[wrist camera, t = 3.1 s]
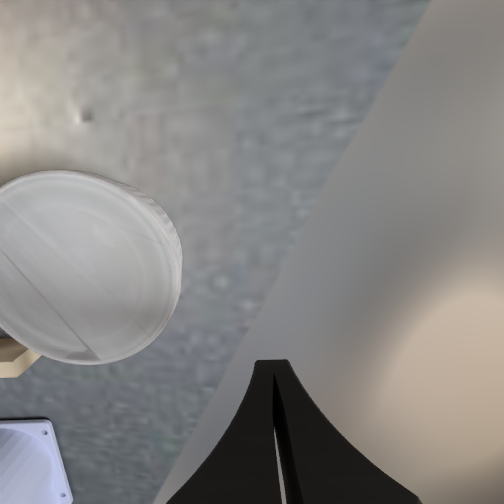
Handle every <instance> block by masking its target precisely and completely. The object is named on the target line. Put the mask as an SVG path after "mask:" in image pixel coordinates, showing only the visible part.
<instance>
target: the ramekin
mask: <svg viewBox="0 0 504 504" xmlns="http://www.w3.org/2000/svg"><path fill="white" fill-rule="evenodd" d="M182 258H183V257H182V248H181V245H180V240H179V237H178V235H177V232H176V229H175V228H174V226H173V224H172V222H171V220H170V219H169V218H168V216H167V214H166V213H165V212H164V211H163V210H162V209H161V207H160V206H159V205H157V204H156V203H155V202H154V201H153V200H152V199H151V198H149V197H147V196H146V195H145V194H144V193H142V192H139V191H138V190H136V189H135V188H132V187H129V186H127V185H125V184H121V183H117V182H114V181H112V180H110V179H107V178H105V177H102V176H99V175H96V174H92V173H88V172H83V171H76V170H46V171H39V172H33V173H29V174H26V175H23V176H20V177H17V178H15V179H13V180H10V181H9V182H7V183H6V184H4V185H2V186H1V187H0V327H1V328H2V329H3V330H4V331H5V332H6V333H7V334H9V335H10V336H11V337H12V338H14V339H15V340H16V341H18V342H19V343H20V344H22V345H24V346H25V347H27V348H28V349H30V350H32V351H34V352H36V353H38V354H41V355H43V356H46V357H48V358H51V359H54V360H57V361H61V362H66V363H71V364H78V365H97V364H105V363H110V362H114V361H118V360H121V359H124V358H126V357H129V356H131V355H133V354H135V353H137V352H138V351H140V350H142V349H143V348H145V347H146V346H147V345H149V344H150V343H151V342H152V341H153V340H154V339H155V338H156V337H157V336H158V335H159V334H160V333H161V331H162V330H163V329H164V327H165V326H166V324H167V323H168V321H169V320H170V318H171V316H172V314H173V312H174V310H175V307H176V305H177V302H178V298H179V294H180V288H181V270H182Z"/></svg>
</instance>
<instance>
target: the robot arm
mask: <svg viewBox="0 0 504 504" xmlns="http://www.w3.org/2000/svg"><path fill="white" fill-rule="evenodd" d="M274 427H275V432H276V438H277V445H278V451H279V457H280V463H281V468H282V475H283V480H284V486H285V494H286V503H287V504H422V503H421V501H420V500H419V498H418V497H417V496H416V495H415V494H413V493H412V492H410V491H409V490H408V489H406V488H405V487H403V486H402V485H401V484H399V483H398V482H396V481H395V480H393V479H392V478H391V477H389V476H388V475H387V474H385V473H384V472H383V471H381V470H380V469H379V468H378V467H376V466H375V465H374V464H373V463H371V462H370V461H369V460H368V459H367V458H366V457H365V456H364V455H363V454H361V453H360V452H359V451H358V450H357V449H356V448H354V446H352V445H351V444H350V443H349V442H348V441H347V440H346V439H345V438H344V437H343V436H342V435H341V434H340V433H339V432H338V430H337V429H336V428H335V427H334V426H333V425H332V424H331V423H330V422H329V420H328V419H327V418H326V417H325V416H324V414H323V413H322V412H321V411H320V409H319V408H318V407H317V406H316V404H315V403H314V402H313V400H312V399H311V398H310V396H309V394H308V393H307V392H306V390H305V389H304V387H303V386H302V384H301V383H300V381H299V379H298V377H297V376H296V374H295V372H294V371H293V369H292V367H291V365H290V362H289V361H288V360H285V359H284V360H257V361H256V362H255V366H254V371H253V375H252V378H251V381H250V384H249V386H248V389H247V392H246V394H245V396H244V399H243V400H242V402H241V405H240V407H239V409H238V411H237V413H236V415H235V416H234V418H233V420H232V422H231V424H230V425H229V427H228V428H227V430H226V432H225V433H224V435H223V436H222V438H221V439H220V441H219V442H218V444H217V445H216V447H215V448H214V449H213V451H212V452H211V453H210V455H209V456H208V457H207V458H206V460H205V461H204V462H203V463H202V464H201V466H200V467H199V468H198V469H197V471H196V472H195V473H194V474H193V475H192V477H191V478H190V479H189V480H188V481H187V482H186V483H185V484H184V485H183V486H182V487H181V488H180V489H179V490H178V491H177V492H176V493H175V494H174V495H173V496H172V497H171V499H170V500H169V501H168V502H167V503H166V504H282V499H281V491H280V483H279V475H278V466H277V457H276V449H275V438H274ZM72 501H73V497H72V494H71V490H70V487H69V483H68V480H67V476H66V473H65V469H64V466H63V462H62V458H61V455H60V451H59V448H58V444H57V441H56V437H55V434H54V430H53V427H52V423H51V422H50V421H49V420H46V419H43V420H12V421H0V504H71V503H72Z"/></svg>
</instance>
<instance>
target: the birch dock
mask: <svg viewBox="0 0 504 504" xmlns="http://www.w3.org/2000/svg"><path fill="white" fill-rule="evenodd" d="M40 356H41V354H38V353H36V352H34V351H32V350H30V349H28V348H27V347H25V346H24V345H22V344H20V343H19V342H18V341H16V340H15V339H14V338H0V378H7V377H18V376H19V375H20V374H21V373H22V372H24V371H25V370H26V369H27V368H28V367H29V366H30V365H31V364H32V363H34V362H35V361H36V360H37V359H38V358H39V357H40Z"/></svg>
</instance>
